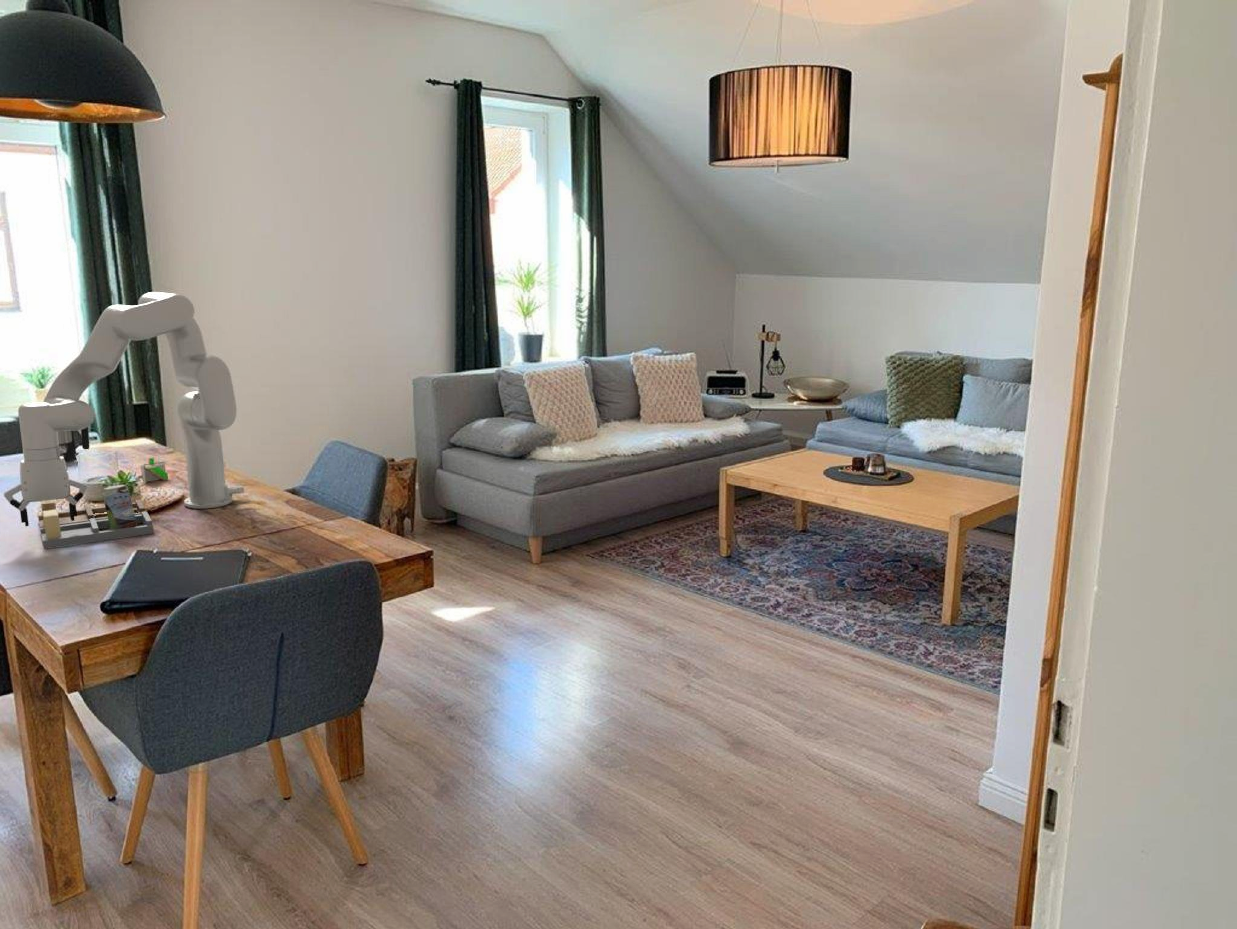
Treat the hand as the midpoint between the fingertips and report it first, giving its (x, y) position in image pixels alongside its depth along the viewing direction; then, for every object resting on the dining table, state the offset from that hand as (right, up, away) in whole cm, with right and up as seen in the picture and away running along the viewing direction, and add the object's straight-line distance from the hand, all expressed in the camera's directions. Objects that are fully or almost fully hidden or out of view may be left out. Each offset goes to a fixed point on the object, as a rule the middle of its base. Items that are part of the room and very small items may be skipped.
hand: (49, 522), depth 232 cm
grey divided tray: (+8, -4, +7) cm, 11 cm away
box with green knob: (-2, +9, +58) cm, 58 cm away
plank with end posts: (+1, -1, +17) cm, 17 cm away
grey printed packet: (+13, -3, +10) cm, 16 cm away
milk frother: (-47, +16, +85) cm, 99 cm away
